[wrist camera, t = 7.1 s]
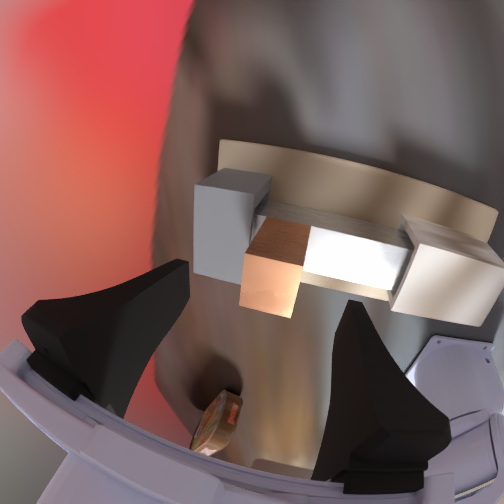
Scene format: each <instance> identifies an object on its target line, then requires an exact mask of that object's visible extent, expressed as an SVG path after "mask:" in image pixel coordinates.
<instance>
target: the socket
mask: <svg viewBox="0 0 504 504" xmlns="http://www.w3.org/2000/svg"><path fill="white" fill-rule="evenodd" d="M271 180H272V175H267V174H261V173H255V172H249V171H243V170H236V169H229V168H223V169H221V170H219V171H218V172H216V173H214V174H212V175H210V176H209V177H207V178H205V179H203V180H202V181H200V182H198V183H196V184H195V191H194V273H197V274H201V275H204V276H208V277H212V278H216V279H220V280H224V281H228V282H232V283H236V284H240V285H241V283H242V273H243V263H244V253H245V252H246V250H247V248H248V247H249V245H250V243H251V235H252V226H253V218H254V209H255V208H256V207H257V205H258V204H259V203H260V202H261V200H262V199H268V200H269V196H270V188H271Z"/></svg>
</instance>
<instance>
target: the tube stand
mask: <svg viewBox="0 0 504 504" xmlns="http://www.w3.org/2000/svg"><path fill="white" fill-rule="evenodd" d="M223 168H229V169H236V170H243V171H249V172H255V173H261V174H267V175H272V180H271V188H270V196H269V200H273V201H278V202H283V203H288V204H293V205H298V206H302V207H307V208H312V209H316V210H321V211H325V212H330V213H334V214H339V215H343V216H347V217H351V218H356V219H360V220H364V221H368V222H372V223H376V224H380V225H384V226H387V227H391V228H395V229H399V230H402V231H406V232H407V234H408V235H409V237H410V239H411V241H412V243H413V245H414V246H415V248H414V251H413V254H412V256H411V259H410V261H409V264H408V266H407V269H406V271H405V274H404V276H403V278H402V281H401V283H400V285H399V287H398V290H397V291H392V290H388V289H383V288H378V287H374V286H369V285H365V284H360V283H356V282H351V281H347V280H342V279H338V278H334V277H329V276H325V275H320V274H316V273H311V272H307V271H302V274H301V278H300V282H303V283H308V284H312V285H317V286H321V287H326V288H330V289H335V290H339V291H344V292H348V293H353V294H357V295H362V296H367V297H371V298H376V299H381V300H386V301H389V303H390V308H391V311H396V312H401V313H406V314H411V315H416V316H421V317H427V318H432V319H437V320H443V321H448V322H454V323H459V324H465V325H471V326H477V327H480V326H481V325H482V323H483V322H484V320H485V318H486V317H487V315H488V313H489V312H490V310H491V308H492V307H493V305H494V303H495V302H496V300H497V298H498V296H499V294H500V293H501V291H502V289H503V287H504V262H503V261H502V260H501V258H500V257H499V256H498V255H497V254H496V253H495V251H494V250H493V249H492V248H491V247H490V246H489V245H488V244H487V243H488V240H489V238H490V235H491V233H492V230H493V227H494V224H495V222H496V219H497V216H498V213H499V211H497V210H496V209H494V208H492V207H490V206H487V205H485V204H483V203H480V202H478V201H475V200H473V199H470V198H468V197H465V196H463V195H460V194H458V193H455V192H452V191H450V190H447V189H444V188H441V187H438V186H436V185H433V184H430V183H427V182H424V181H421V180H418V179H414V178H411V177H408V176H405V175H401V174H398V173H395V172H391V171H388V170H384V169H380V168H377V167H373V166H369V165H365V164H361V163H357V162H353V161H349V160H345V159H340V158H336V157H331V156H327V155H322V154H317V153H312V152H307V151H302V150H296V149H290V148H284V147H278V146H272V145H265V144H258V143H251V142H243V141H235V140H226V139H222V140H220V144H219V157H218V171H219V170H221V169H223ZM218 171H217V172H218Z"/></svg>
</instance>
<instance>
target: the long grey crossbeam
mask: <svg viewBox="0 0 504 504" xmlns="http://www.w3.org/2000/svg"><path fill="white" fill-rule="evenodd" d="M414 248H415V246H414V245H413V243H412V241H411V239H410V237H409V235H408V234H407V232H406V231H402V230H399V229H395V228H391V227H387V226H384V225H380V224H376V223H372V222H368V221H364V220H360V219H356V218H351V217H347V216H343V215H339V214H334V213H330V212H325V211H321V210H316V209H312V208H307V207H302V206H298V205H293V204H288V203H283V202H278V201H273V200H268V199H262V200H261V202H260V203H259V204H258V205H257V207H256V208H255V209H254V218H253V226H252V235H251V243H250V245H249V247H248V248H247V250H246V252H245V253H244V263H243V273H242V283H241V292H240V302H239V305H240V306H244V307H248V308H252V309H256V310H260V311H264V312H268V313H272V314H276V315H280V316H284V317H288V318H291V314H292V310H293V306H294V303H295V299H296V295H297V291H298V286H299V282H300V278H301V274H302V271H307V272H311V273H316V274H320V275H325V276H329V277H334V278H338V279H342V280H347V281H351V282H356V283H360V284H365V285H369V286H374V287H378V288H383V289H388V290H392V291H397V290H398V287H399V285H400V283H401V281H402V278H403V276H404V274H405V271H406V269H407V266H408V264H409V261H410V259H411V256H412V254H413V251H414Z"/></svg>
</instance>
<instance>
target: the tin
mask: <svg viewBox="0 0 504 504" xmlns="http://www.w3.org/2000/svg"><path fill="white" fill-rule="evenodd" d="M242 405H243V400H242V398H241V397H239V396H237V395H235V394H232V393H230V392H228V391H226V390H223V391H222V392H221V393H220V394H219V395H218V396H217V397H216V398H215V400H214V401H213V402H212V403H211V404H210V405H209V406H208V408H207V409H206V410H205V412H204V413H203V415H202V417H201V419H200V421H199V423H198V425H197V427H196V430H195V432H194V435H193V437H192V440H191V443H190V447H189V449H190V450H192V451H195V452H198V453H201V454H204V455H207V456H211V455H212V454H214V453H216V452H218V451H219V450H221V449H223V448H224V447H225V446H226V445H227V444H228V443H229V441H230V440H231V438H232V436H233V434H234V432H235V430H236V427H237V421H238V418H239V414H240V410H241V407H242Z"/></svg>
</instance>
